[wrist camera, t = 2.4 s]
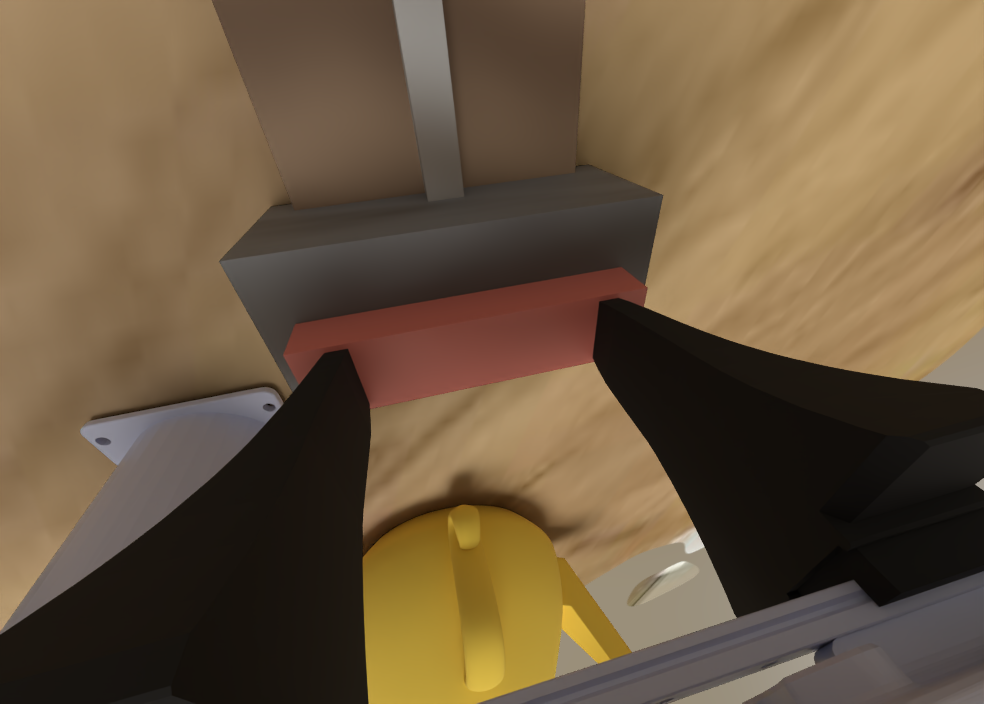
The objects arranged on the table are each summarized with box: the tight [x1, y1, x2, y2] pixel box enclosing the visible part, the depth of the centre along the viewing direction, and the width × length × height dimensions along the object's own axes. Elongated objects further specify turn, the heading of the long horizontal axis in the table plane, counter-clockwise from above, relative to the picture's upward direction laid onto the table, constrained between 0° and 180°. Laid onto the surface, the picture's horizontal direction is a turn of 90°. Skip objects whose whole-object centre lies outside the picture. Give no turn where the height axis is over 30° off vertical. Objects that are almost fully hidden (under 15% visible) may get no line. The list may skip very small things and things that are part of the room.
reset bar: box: [283, 267, 647, 409], centre depth 11 cm, size 2×10×2 cm, turn 94°
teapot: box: [363, 505, 632, 704], centre depth 25 cm, size 20×19×13 cm
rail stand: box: [212, 0, 663, 392], centre depth 9 cm, size 19×12×5 cm, turn 4°
